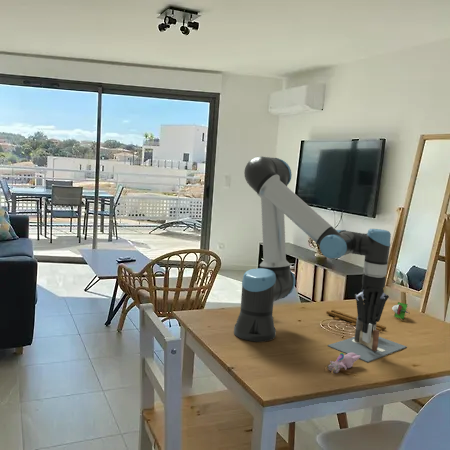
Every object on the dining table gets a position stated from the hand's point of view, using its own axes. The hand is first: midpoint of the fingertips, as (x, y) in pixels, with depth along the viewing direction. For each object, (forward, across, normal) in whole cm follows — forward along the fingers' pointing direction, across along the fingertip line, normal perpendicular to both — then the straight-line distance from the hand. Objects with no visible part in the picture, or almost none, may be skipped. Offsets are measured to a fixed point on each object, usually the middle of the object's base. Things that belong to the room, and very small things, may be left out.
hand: (366, 341), depth 163 cm
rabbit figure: (+4, +16, +10) cm, 20 cm away
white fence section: (+3, -7, -9) cm, 12 cm away
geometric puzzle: (+4, -42, -30) cm, 51 cm away
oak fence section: (+2, -2, -2) cm, 4 cm away
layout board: (+4, -4, -3) cm, 6 cm away
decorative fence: (+4, -16, -28) cm, 32 cm away
